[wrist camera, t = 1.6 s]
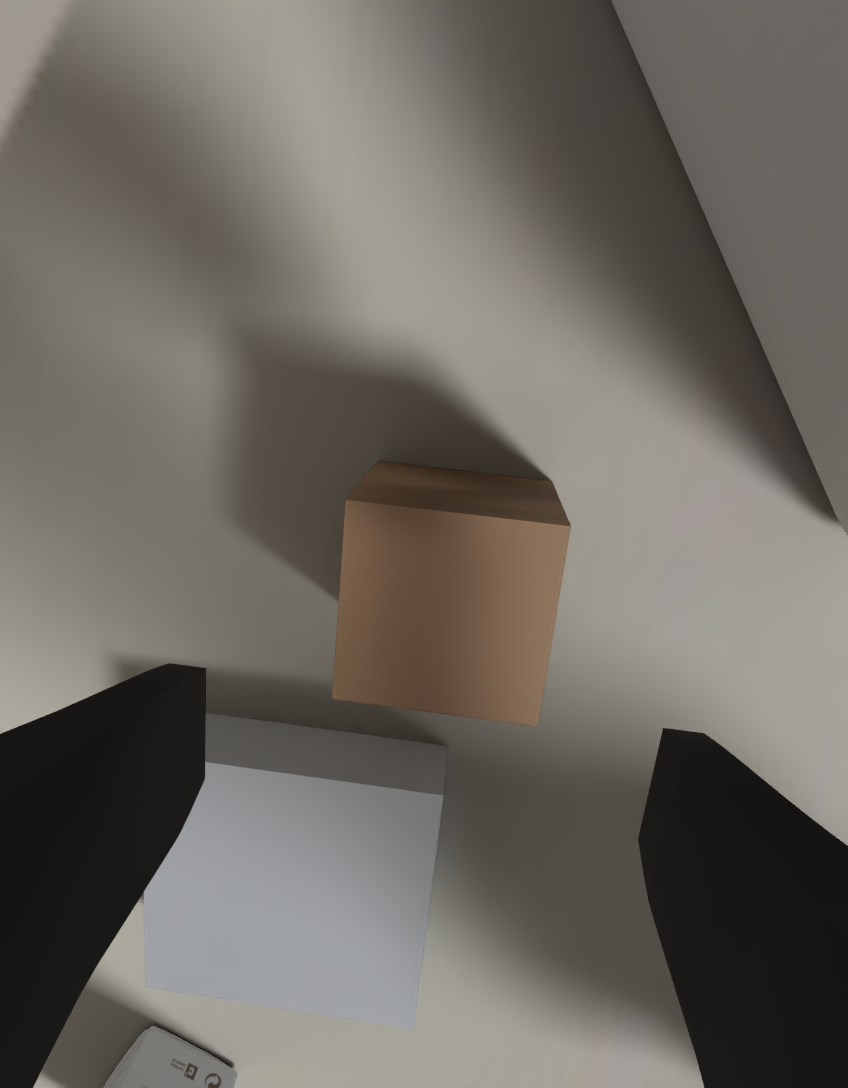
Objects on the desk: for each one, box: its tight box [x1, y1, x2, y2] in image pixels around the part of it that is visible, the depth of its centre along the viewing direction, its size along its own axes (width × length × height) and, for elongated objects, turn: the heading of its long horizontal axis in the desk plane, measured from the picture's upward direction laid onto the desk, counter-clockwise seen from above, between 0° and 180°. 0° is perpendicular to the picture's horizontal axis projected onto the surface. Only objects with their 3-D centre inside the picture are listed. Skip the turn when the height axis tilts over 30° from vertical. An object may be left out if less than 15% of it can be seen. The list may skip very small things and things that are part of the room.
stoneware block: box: [144, 713, 448, 1030], centre depth 23 cm, size 9×9×3 cm
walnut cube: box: [332, 461, 571, 726], centre depth 19 cm, size 5×5×5 cm
